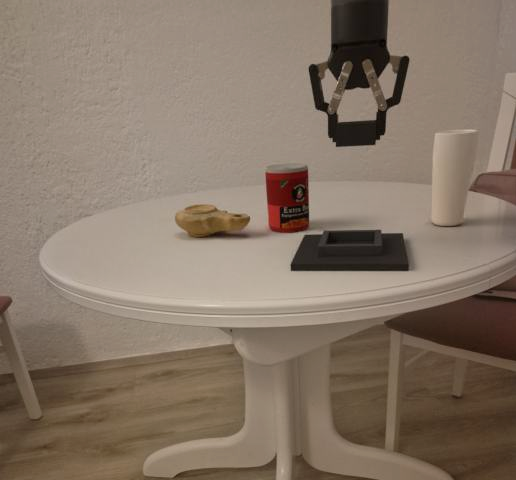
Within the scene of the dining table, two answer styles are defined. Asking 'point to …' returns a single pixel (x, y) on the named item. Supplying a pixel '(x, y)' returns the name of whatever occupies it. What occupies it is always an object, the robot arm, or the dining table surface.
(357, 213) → the dining table surface
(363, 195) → the dining table surface
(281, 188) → the canned food
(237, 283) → the dining table surface
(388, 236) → the base pad
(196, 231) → the oil lamp
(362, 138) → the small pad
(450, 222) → the drinking glass
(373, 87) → the robot arm
